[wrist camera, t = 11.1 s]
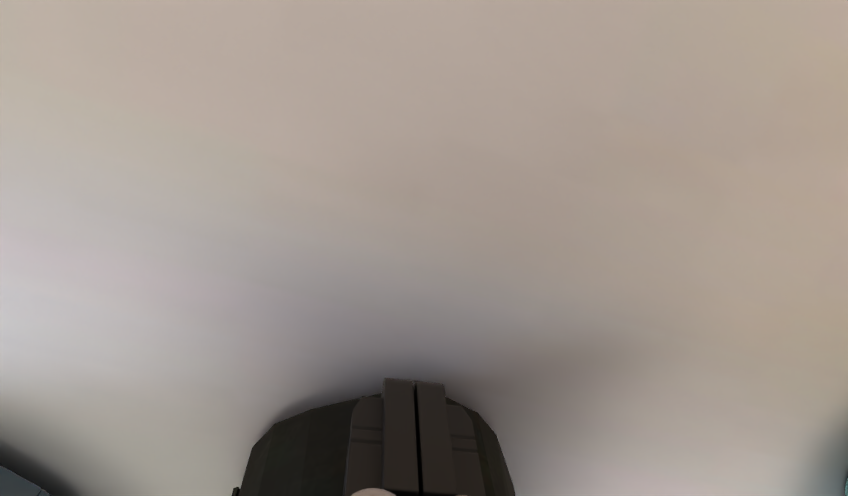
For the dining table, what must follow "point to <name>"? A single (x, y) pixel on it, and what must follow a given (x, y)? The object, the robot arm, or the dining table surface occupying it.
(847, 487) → the cupcake
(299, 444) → the sushi
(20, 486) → the bowl
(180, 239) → the dining table surface
